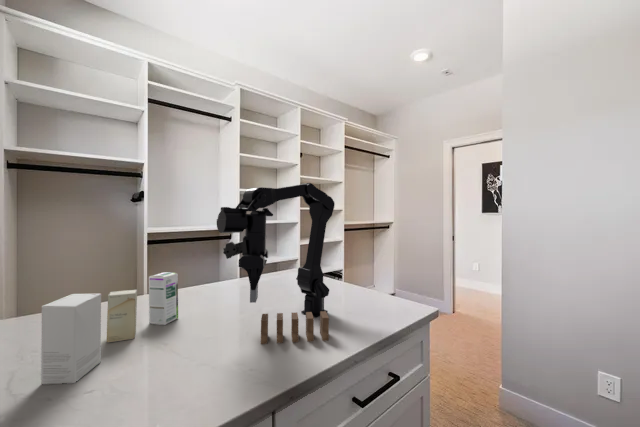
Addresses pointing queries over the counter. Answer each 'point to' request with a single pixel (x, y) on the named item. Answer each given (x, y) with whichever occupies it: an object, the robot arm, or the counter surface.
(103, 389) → the counter surface
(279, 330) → the domino
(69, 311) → the skincare box
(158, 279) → the syrup box
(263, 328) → the domino
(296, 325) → the domino
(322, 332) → the domino
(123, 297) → the skincare box
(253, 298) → the grey domino
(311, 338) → the domino
